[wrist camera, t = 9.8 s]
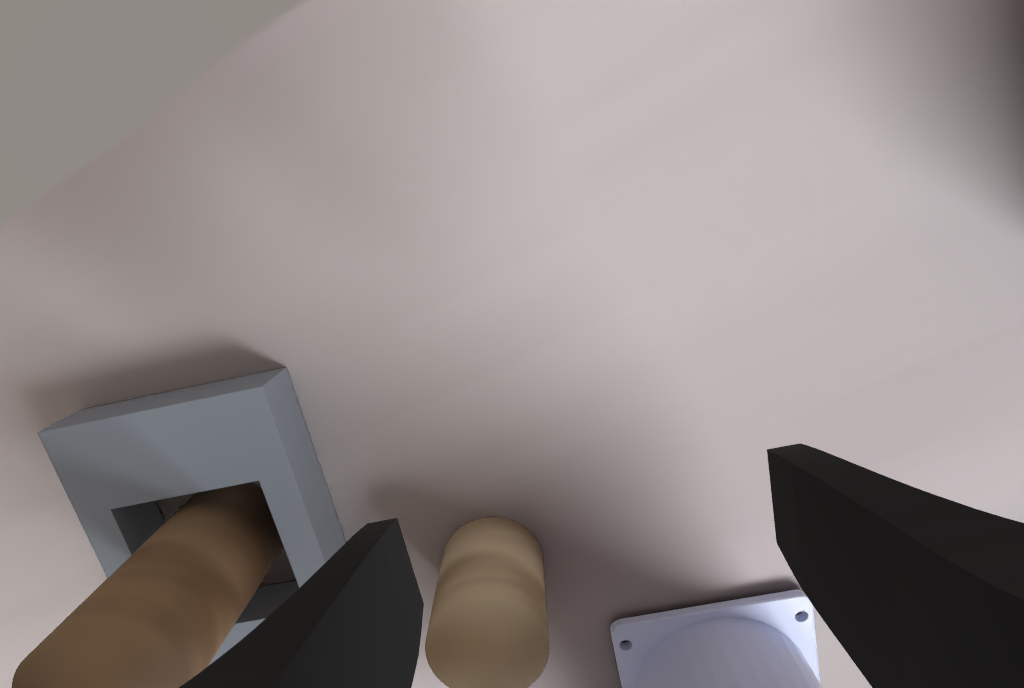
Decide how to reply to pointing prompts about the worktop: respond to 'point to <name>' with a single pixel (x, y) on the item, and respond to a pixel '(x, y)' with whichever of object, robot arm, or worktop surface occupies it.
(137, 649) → the long dowel
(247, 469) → the board
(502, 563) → the short dowel
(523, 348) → the worktop surface
